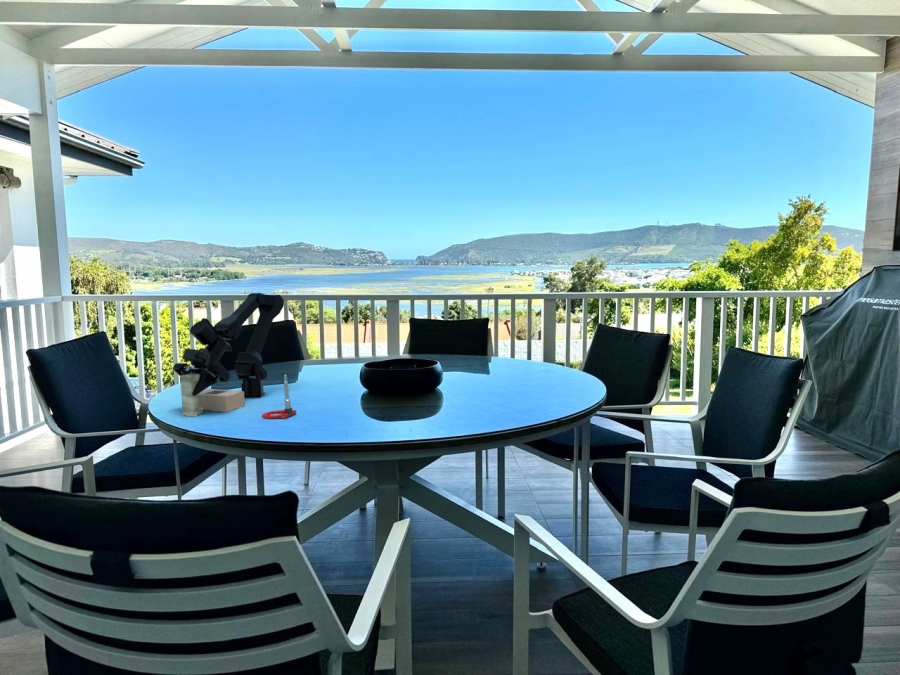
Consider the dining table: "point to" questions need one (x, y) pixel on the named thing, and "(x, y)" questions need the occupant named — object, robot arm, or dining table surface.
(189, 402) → the birch bar
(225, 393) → the flat beige box
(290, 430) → the dining table surface
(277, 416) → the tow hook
